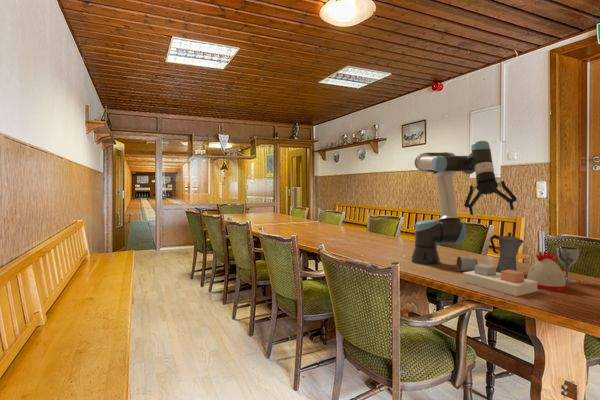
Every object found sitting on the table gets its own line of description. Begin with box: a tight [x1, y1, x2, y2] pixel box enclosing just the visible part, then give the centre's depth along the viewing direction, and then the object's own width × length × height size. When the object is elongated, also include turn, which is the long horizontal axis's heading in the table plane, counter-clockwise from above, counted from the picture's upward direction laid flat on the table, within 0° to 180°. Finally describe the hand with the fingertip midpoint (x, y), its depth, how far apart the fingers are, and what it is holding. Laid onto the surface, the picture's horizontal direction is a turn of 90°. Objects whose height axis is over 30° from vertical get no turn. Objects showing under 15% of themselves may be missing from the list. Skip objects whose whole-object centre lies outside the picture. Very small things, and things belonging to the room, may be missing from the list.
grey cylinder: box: [455, 255, 479, 272], centre depth 179 cm, size 11×8×8 cm
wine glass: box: [556, 245, 580, 284], centre depth 160 cm, size 8×8×15 cm
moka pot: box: [490, 232, 525, 273], centre depth 174 cm, size 10×15×20 cm, turn 41°
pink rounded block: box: [501, 269, 525, 283], centre depth 146 cm, size 6×6×4 cm
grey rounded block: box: [475, 263, 497, 276], centre depth 156 cm, size 6×6×4 cm
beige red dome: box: [526, 250, 567, 291], centre depth 152 cm, size 14×14×15 cm
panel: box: [462, 271, 538, 297], centre depth 151 cm, size 24×14×4 cm, turn 28°
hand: (492, 219), depth 152 cm, fingers open, 13 cm apart
